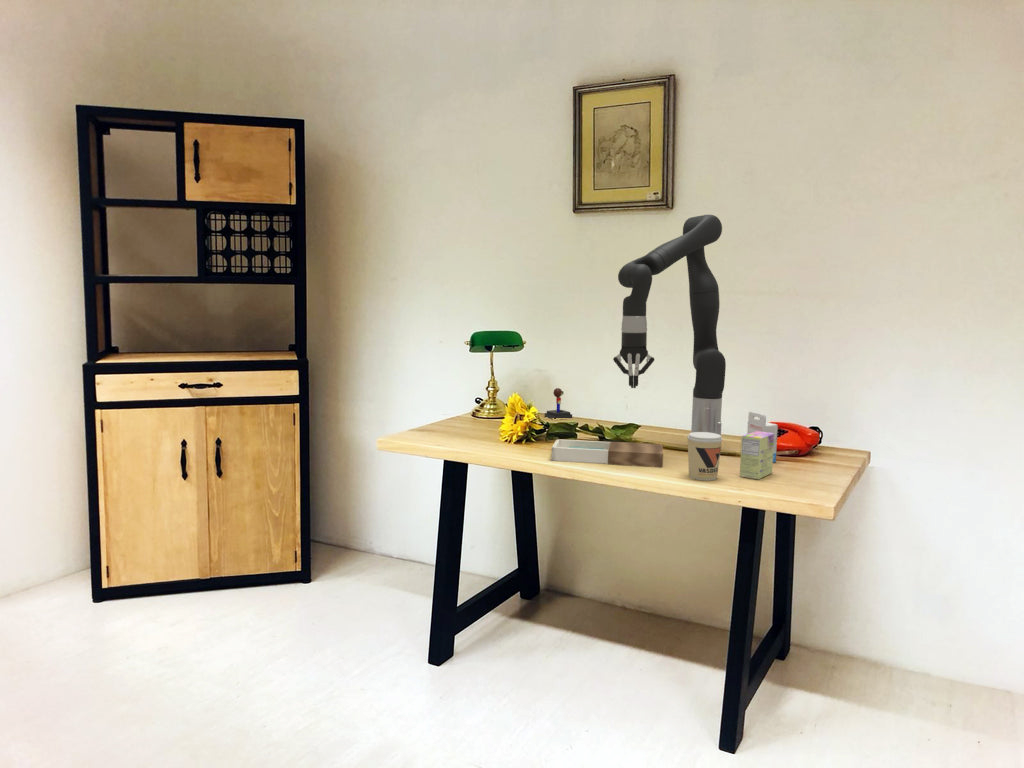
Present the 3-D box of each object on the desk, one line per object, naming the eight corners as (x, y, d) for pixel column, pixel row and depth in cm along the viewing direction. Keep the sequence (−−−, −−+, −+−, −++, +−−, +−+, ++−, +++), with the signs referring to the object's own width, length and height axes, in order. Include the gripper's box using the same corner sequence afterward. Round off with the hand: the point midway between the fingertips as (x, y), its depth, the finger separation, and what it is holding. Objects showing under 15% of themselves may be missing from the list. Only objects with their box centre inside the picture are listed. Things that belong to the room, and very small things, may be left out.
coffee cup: (696, 482, 207) (698, 438, 206) (679, 473, 216) (681, 432, 215) (726, 480, 210) (728, 437, 208) (709, 472, 219) (711, 431, 217)
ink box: (776, 462, 232) (779, 414, 230) (763, 463, 230) (766, 415, 228) (758, 456, 240) (760, 410, 238) (745, 457, 238) (747, 411, 236)
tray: (610, 454, 240) (610, 441, 239) (607, 463, 227) (608, 450, 227) (556, 451, 243) (556, 439, 242) (551, 460, 230) (551, 447, 230)
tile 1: (569, 446, 238) (569, 452, 239) (567, 449, 234) (567, 456, 234) (585, 447, 238) (585, 453, 238) (583, 450, 233) (583, 457, 233)
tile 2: (603, 454, 237) (603, 448, 237) (602, 458, 232) (602, 451, 232) (587, 453, 238) (587, 447, 238) (586, 457, 233) (586, 450, 233)
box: (753, 470, 222) (755, 430, 221) (772, 473, 219) (774, 433, 217) (738, 476, 214) (740, 435, 213) (758, 480, 211) (760, 438, 209)
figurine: (572, 418, 304) (573, 388, 302) (554, 420, 300) (555, 389, 298) (562, 415, 310) (562, 386, 309) (544, 417, 306) (545, 387, 305)
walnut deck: (661, 456, 238) (662, 444, 237) (662, 467, 224) (663, 453, 223) (610, 454, 240) (610, 441, 240) (607, 464, 227) (608, 450, 226)
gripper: (656, 330, 233) (655, 386, 235) (612, 330, 235) (611, 385, 237) (656, 331, 225) (655, 389, 228) (611, 331, 228) (611, 389, 230)
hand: (633, 387), depth 232 cm, fingers closed
